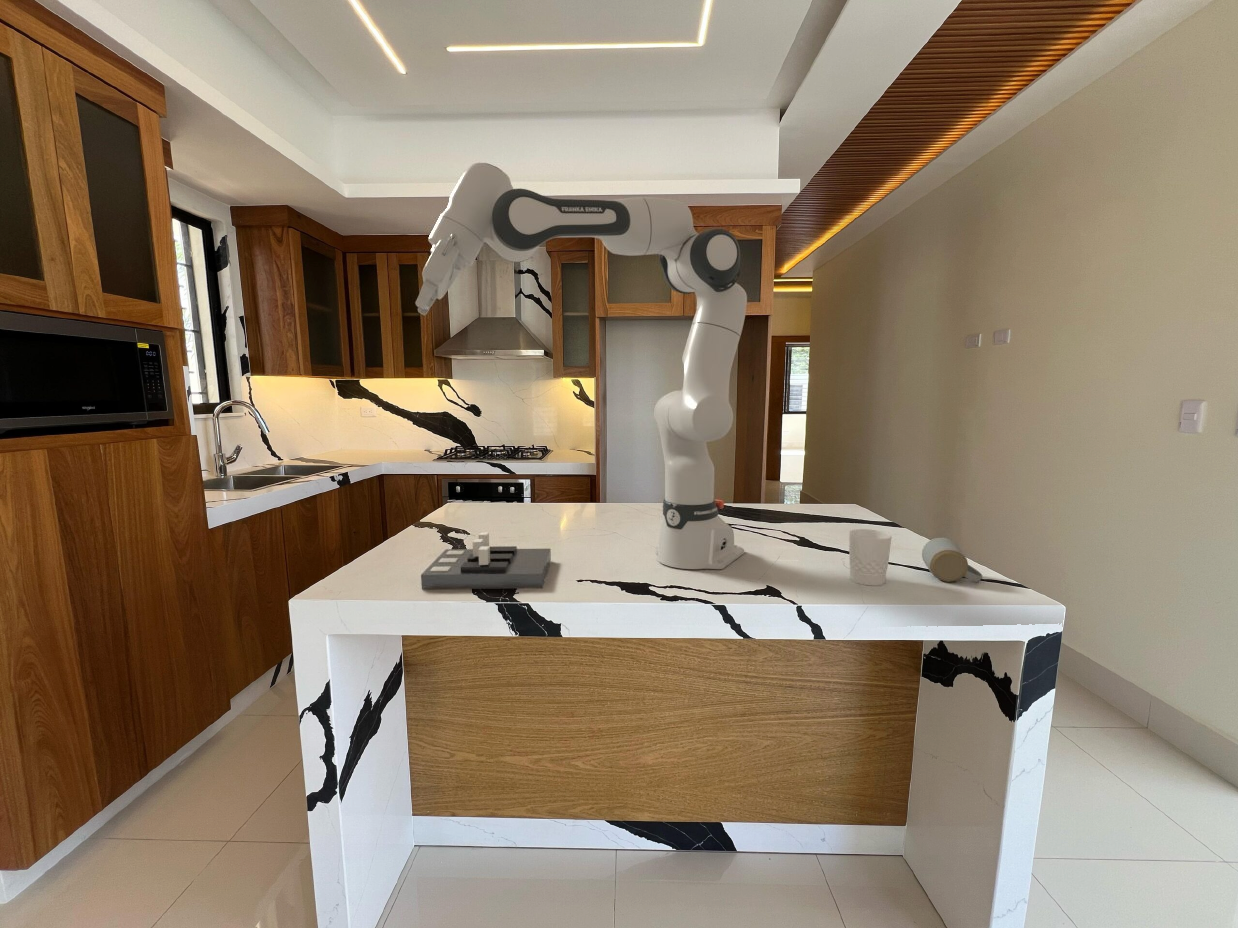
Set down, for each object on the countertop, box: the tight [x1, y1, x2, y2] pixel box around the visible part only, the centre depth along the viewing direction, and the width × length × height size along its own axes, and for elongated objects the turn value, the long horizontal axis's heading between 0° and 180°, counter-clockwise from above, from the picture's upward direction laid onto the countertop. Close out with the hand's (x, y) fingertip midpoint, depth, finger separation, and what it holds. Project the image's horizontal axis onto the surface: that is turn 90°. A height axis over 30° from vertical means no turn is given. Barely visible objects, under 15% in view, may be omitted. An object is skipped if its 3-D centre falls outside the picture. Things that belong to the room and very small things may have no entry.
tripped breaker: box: [478, 545, 491, 565], centre depth 113 cm, size 2×2×3 cm
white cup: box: [848, 528, 893, 587], centre depth 114 cm, size 8×8×10 cm
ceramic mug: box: [921, 537, 983, 583], centre depth 116 cm, size 11×8×8 cm
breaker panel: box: [420, 545, 552, 590], centre depth 119 cm, size 24×17×4 cm
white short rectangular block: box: [478, 531, 490, 546], centre depth 123 cm, size 2×2×3 cm
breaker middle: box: [472, 538, 484, 557], centre depth 118 cm, size 2×2×3 cm
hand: (420, 310), depth 104 cm, fingers open, 8 cm apart
